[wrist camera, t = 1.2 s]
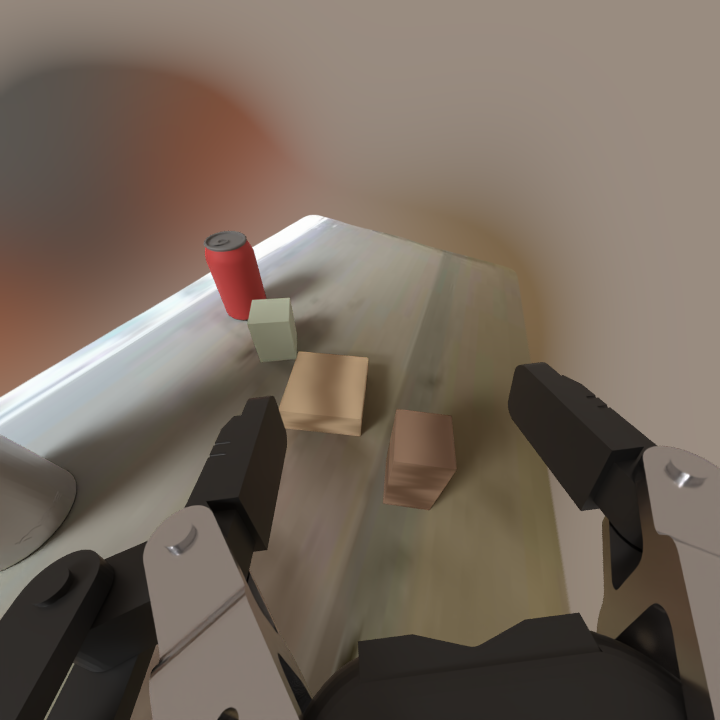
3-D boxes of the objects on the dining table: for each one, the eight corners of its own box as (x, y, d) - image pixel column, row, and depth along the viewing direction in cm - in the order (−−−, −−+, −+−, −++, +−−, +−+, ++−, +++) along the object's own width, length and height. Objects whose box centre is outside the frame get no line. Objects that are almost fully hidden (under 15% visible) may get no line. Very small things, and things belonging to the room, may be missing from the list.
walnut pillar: (383, 503, 28) (393, 461, 21) (386, 459, 31) (396, 409, 24) (429, 510, 28) (456, 469, 21) (427, 465, 31) (451, 415, 24)
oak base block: (284, 429, 34) (278, 410, 31) (302, 371, 40) (298, 351, 37) (360, 437, 33) (361, 419, 30) (367, 377, 39) (368, 357, 37)
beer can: (220, 309, 48) (191, 238, 40) (255, 293, 52) (235, 225, 43) (240, 327, 45) (213, 256, 36) (276, 310, 48) (259, 240, 40)
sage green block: (260, 362, 41) (247, 324, 35) (263, 338, 44) (252, 299, 39) (296, 359, 41) (288, 321, 36) (297, 335, 44) (289, 297, 39)
